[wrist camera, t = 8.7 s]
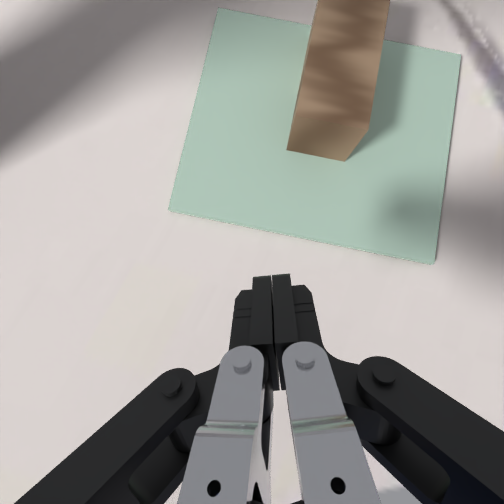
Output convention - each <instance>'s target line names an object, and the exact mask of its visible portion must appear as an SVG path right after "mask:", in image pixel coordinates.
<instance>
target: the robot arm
mask: <svg viewBox="0 0 504 504" xmlns="http://www.w3.org/2000/svg"><path fill="white" fill-rule="evenodd" d="M272 286H273V287H272ZM279 376H280V383H281V390H286V395H287V402H288V410H289V417H290V424H291V431H292V437H293V444H294V450H295V457H296V464H297V470H298V477H299V484H300V491H301V498H302V500H300V501H297V502H295V503H292V504H381V502H380V498H379V495H378V492H377V489H376V486H375V483H374V480H373V477H372V474H371V471H370V468H369V466H368V463H367V460H366V457H365V454H364V451H363V448H362V446H363V447H364V448H365V449H366V450H367V451H368V452H369V453H370V454H371V455H372V456H373V457H374V458H375V459H376V460H377V461H378V462H379V463H380V464H381V465H382V466H384V467H385V468H386V469H387V470H388V471H389V472H390V473H391V474H392V475H393V476H394V477H395V478H396V479H397V480H398V481H399V482H400V483H401V484H402V485H403V486H404V487H405V488H406V489H407V490H408V491H409V492H410V493H412V494H413V495H414V496H415V497H416V498H417V499H418V500H419V501H420V502H421V503H422V504H504V432H503V431H502V430H500V429H499V428H497V427H496V426H494V425H493V424H491V423H490V422H488V421H486V420H485V419H483V418H482V417H480V416H479V415H477V414H476V413H474V412H473V411H471V410H470V409H468V408H467V407H465V406H464V405H462V404H461V403H459V402H457V401H456V400H454V399H453V398H451V397H450V396H448V395H447V394H445V393H444V392H442V391H441V390H439V389H438V388H436V387H435V386H433V385H431V384H430V383H428V382H427V381H425V380H424V379H422V378H421V377H419V376H418V375H416V374H415V373H413V372H412V371H410V370H409V369H407V368H406V367H404V366H402V365H401V364H399V363H398V362H396V361H394V360H392V359H390V358H386V357H381V356H375V357H370V358H367V359H365V360H363V361H362V362H361V363H360V365H358V364H354V363H349V362H345V361H341V360H339V359H337V358H335V357H333V356H332V355H330V354H329V353H328V352H327V351H326V349H325V348H324V346H323V343H322V340H321V335H320V330H319V326H318V321H317V316H316V312H315V307H314V303H313V298H312V293H311V292H310V291H309V289H308V288H307V287H306V286H305V285H296V286H291V279H290V274H279V275H272V280H271V275H269V276H259V277H253V285H252V290H241V292H240V293H239V295H238V296H237V298H236V299H235V305H234V313H233V321H232V329H231V337H230V345H229V351H228V352H227V353H226V354H225V355H224V356H223V358H222V360H221V363H220V364H219V365H218V366H216V367H215V368H213V369H211V370H209V371H206V372H203V373H200V374H198V375H195V376H194V375H193V373H192V372H190V371H189V370H187V369H184V368H175V369H171V370H169V371H166V372H165V373H163V374H162V375H160V376H159V377H158V378H157V379H156V380H155V381H153V382H152V383H151V384H150V385H149V386H148V387H147V388H145V389H144V390H143V391H142V392H141V393H140V394H139V395H137V396H136V397H135V398H134V399H133V400H132V401H131V402H129V403H128V404H127V405H126V406H125V407H124V408H123V409H121V410H120V411H119V412H118V413H117V414H116V415H115V416H113V417H112V418H111V419H110V420H109V421H108V422H107V423H105V424H104V425H103V426H102V427H101V428H100V429H99V430H97V431H96V432H95V433H94V434H93V435H92V436H91V437H89V438H88V439H87V440H86V441H85V442H84V443H83V444H82V445H80V446H79V447H78V448H77V449H76V450H75V451H74V452H72V453H71V454H70V455H69V456H68V457H67V458H66V459H64V460H63V461H62V462H61V463H60V464H59V465H58V466H56V467H55V468H54V469H53V470H52V471H51V472H50V473H48V474H47V475H46V476H45V477H44V478H43V479H42V480H40V481H39V482H38V483H37V484H36V485H35V486H34V487H32V488H31V489H30V490H29V491H28V492H27V493H26V494H24V495H23V496H22V497H21V498H20V499H19V500H18V501H16V502H15V503H14V504H164V503H165V502H166V501H167V499H168V498H169V497H170V496H171V495H172V493H173V492H174V491H175V490H176V489H177V487H178V486H179V485H180V484H181V483H182V486H181V490H180V494H179V498H178V502H177V504H271V485H270V469H271V448H272V428H273V391H277V390H280V389H279ZM182 481H183V482H182Z"/></svg>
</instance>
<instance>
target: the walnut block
mask: <svg viewBox="0 0 504 504" xmlns="http://www.w3.org/2000/svg"><path fill="white" fill-rule="evenodd" d="M389 4H390V0H318V1H317V5H316V9H315V14H314V18H313V22H312V26H311V30H310V35H309V40H308V45H307V50H306V55H305V60H304V65H303V70H302V75H301V80H300V85H299V90H298V94H297V99H296V104H295V109H294V114H293V119H292V124H291V129H290V134H289V139H288V144H287V149H286V150H288V151H293V152H298V153H303V154H308V155H313V156H318V157H323V158H328V159H333V160H338V161H343V162H345V161H346V159H347V158H348V157H349V155H350V154H351V153H352V151H353V150H354V149H355V147H356V146H357V145H358V143H359V142H360V141H361V139H362V138H363V137H364V135H365V134H366V133H367V131H368V129H369V124H370V118H371V112H372V106H373V100H374V94H375V88H376V82H377V76H378V70H379V64H380V58H381V52H382V46H383V40H384V34H385V28H386V22H387V16H388V10H389Z"/></svg>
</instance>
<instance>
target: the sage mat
mask: <svg viewBox="0 0 504 504" xmlns="http://www.w3.org/2000/svg"><path fill="white" fill-rule="evenodd" d="M310 30H311V25H306V24H300V23H295V22H290V21H285V20H280V19H275V18H269V17H264V16H259V15H254V14H249V13H244V12H239V11H233V10H228V9H223V8H218V11H217V15H216V19H215V23H214V27H213V31H212V35H211V39H210V43H209V47H208V51H207V55H206V59H205V63H204V67H203V71H202V75H201V79H200V83H199V87H198V91H197V95H196V99H195V103H194V107H193V111H192V115H191V119H190V123H189V127H188V131H187V135H186V139H185V143H184V147H183V151H182V155H181V159H180V163H179V167H178V171H177V175H176V179H175V183H174V187H173V191H172V195H171V199H170V203H169V207H168V210H169V211H171V212H176V213H181V214H186V215H191V216H196V217H201V218H206V219H210V220H215V221H220V222H225V223H230V224H235V225H240V226H245V227H249V228H254V229H259V230H264V231H269V232H274V233H279V234H283V235H288V236H293V237H298V238H303V239H308V240H313V241H318V242H322V243H327V244H332V245H337V246H342V247H347V248H352V249H357V250H361V251H366V252H371V253H376V254H381V255H386V256H391V257H395V258H400V259H405V260H410V261H415V262H420V263H425V264H430V265H432V264H434V262H435V254H436V247H437V239H438V231H439V223H440V215H441V208H442V200H443V192H444V184H445V177H446V169H447V161H448V153H449V146H450V138H451V130H452V122H453V115H454V107H455V99H456V91H457V84H458V76H459V68H460V60H461V55H460V54H455V53H450V52H445V51H440V50H435V49H429V48H424V47H419V46H414V45H409V44H404V43H398V42H393V41H388V40H383V46H382V52H381V58H380V64H379V70H378V76H377V82H376V88H375V94H374V100H373V106H372V112H371V118H370V124H369V129H368V131H367V133H366V134H365V135H364V137H363V138H362V139H361V141H360V142H359V143H358V145H357V146H356V147H355V149H354V150H353V151H352V153H351V154H350V155H349V157H348V158H347V159H346V161H345V162H343V161H338V160H333V159H328V158H323V157H318V156H313V155H308V154H303V153H298V152H293V151H288V150H286V149H287V144H288V139H289V134H290V129H291V124H292V119H293V114H294V109H295V104H296V99H297V94H298V90H299V85H300V80H301V75H302V70H303V65H304V60H305V55H306V50H307V45H308V40H309V35H310Z"/></svg>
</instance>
